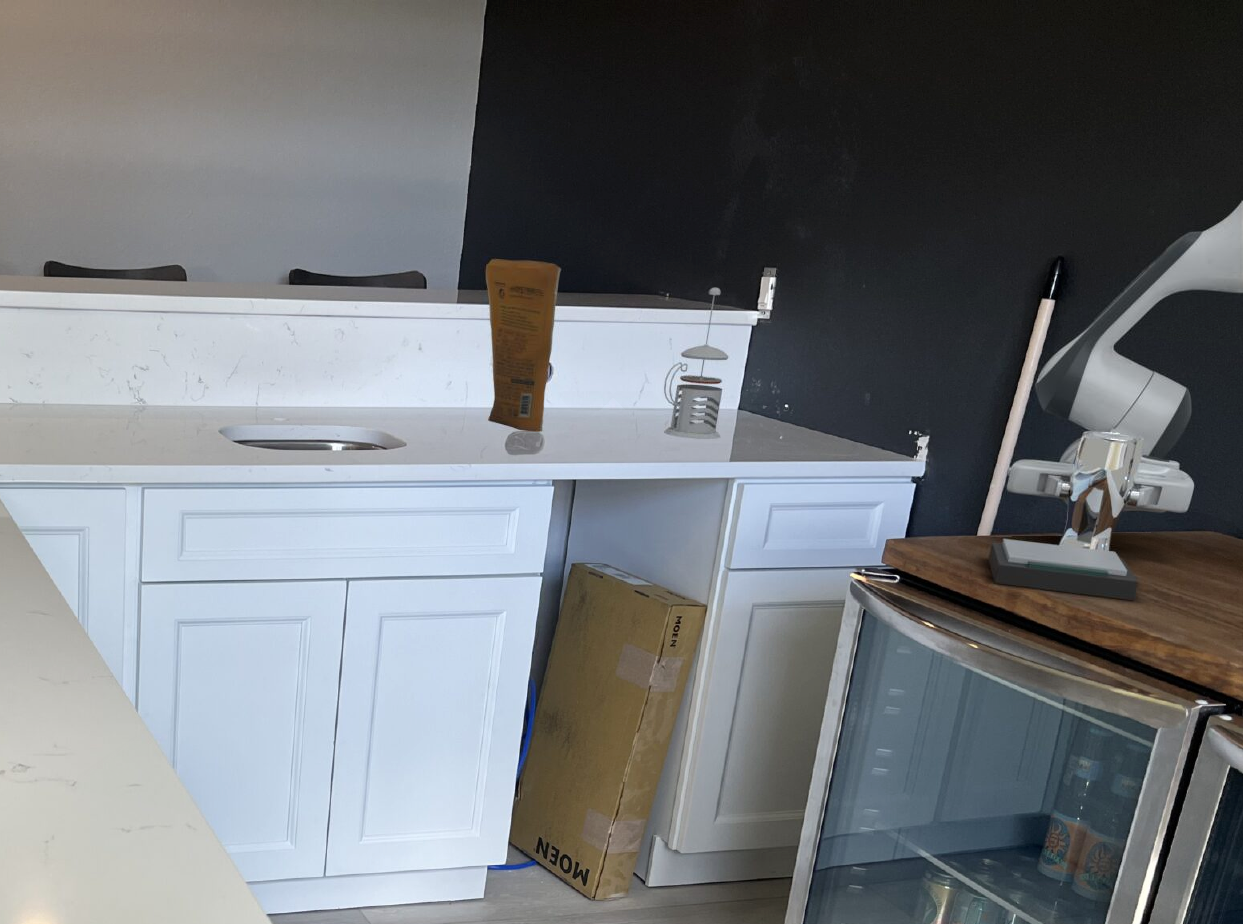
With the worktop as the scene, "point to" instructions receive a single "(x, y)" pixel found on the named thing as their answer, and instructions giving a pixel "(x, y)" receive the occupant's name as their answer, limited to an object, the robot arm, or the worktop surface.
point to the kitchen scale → (1062, 569)
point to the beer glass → (1100, 487)
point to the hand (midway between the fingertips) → (1099, 494)
